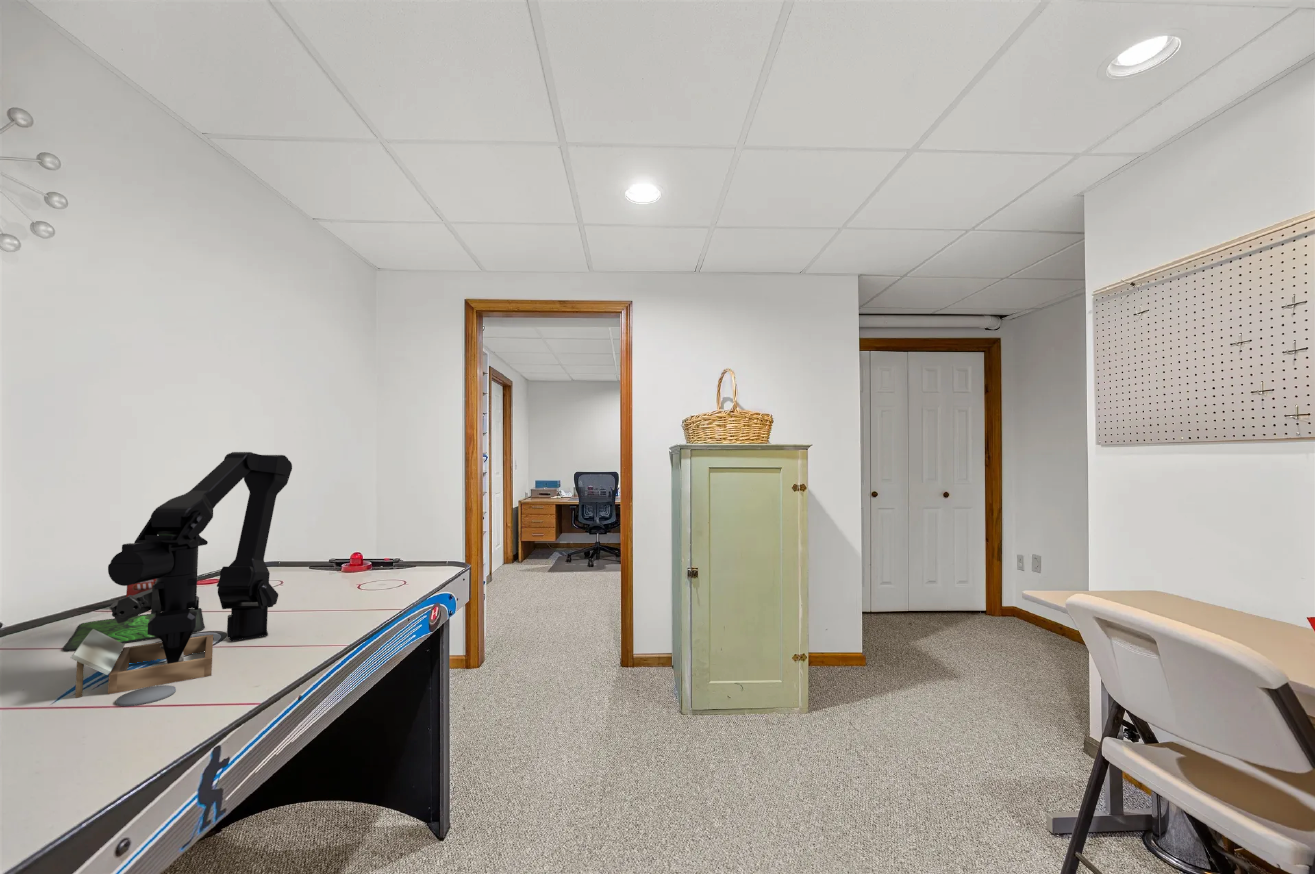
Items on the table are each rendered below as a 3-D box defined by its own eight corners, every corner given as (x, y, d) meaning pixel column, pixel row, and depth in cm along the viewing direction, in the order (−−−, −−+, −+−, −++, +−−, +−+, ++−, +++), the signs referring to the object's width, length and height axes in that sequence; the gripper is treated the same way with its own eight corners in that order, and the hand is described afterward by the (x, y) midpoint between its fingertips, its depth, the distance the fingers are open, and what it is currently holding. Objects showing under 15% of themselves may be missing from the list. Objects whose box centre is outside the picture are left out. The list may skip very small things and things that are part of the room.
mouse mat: (78, 624, 129) (78, 620, 129) (200, 608, 144) (201, 604, 144) (61, 655, 109) (61, 650, 109) (205, 633, 123) (206, 628, 123)
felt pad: (177, 684, 94) (177, 681, 94) (174, 698, 88) (174, 695, 88) (119, 694, 89) (119, 692, 89) (112, 710, 84) (112, 707, 84)
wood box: (212, 649, 111) (214, 613, 111) (211, 675, 98) (213, 634, 98) (88, 669, 100) (90, 629, 101) (67, 701, 87) (70, 655, 87)
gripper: (123, 570, 104) (119, 655, 103) (107, 589, 89) (102, 688, 89) (200, 564, 111) (197, 643, 110) (197, 580, 96) (193, 672, 96)
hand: (173, 660), depth 101 cm, fingers closed on wristwatch, 6 cm apart
